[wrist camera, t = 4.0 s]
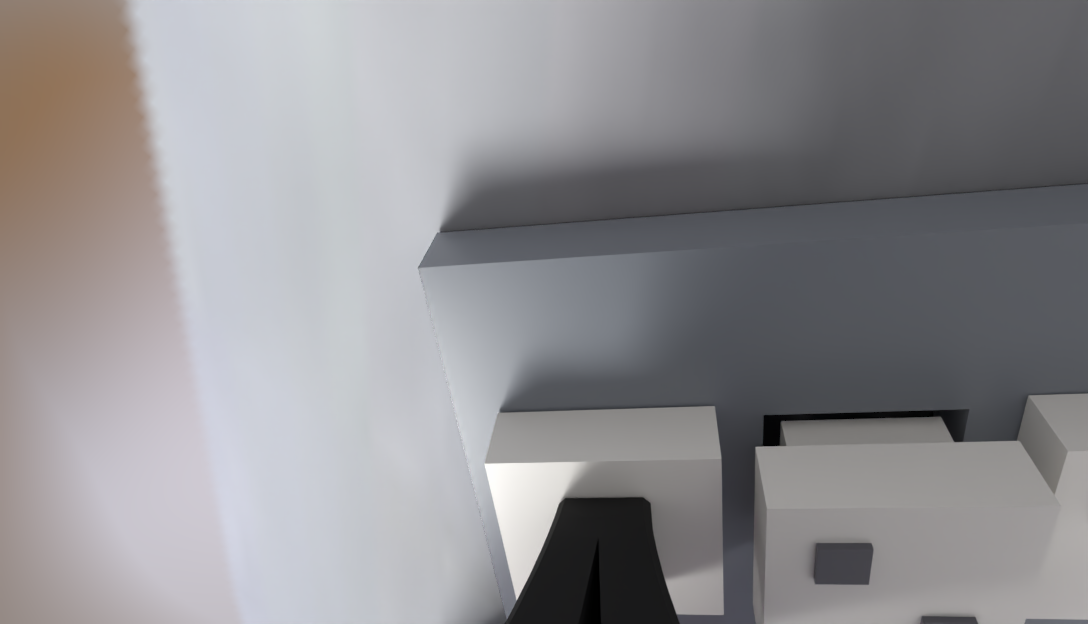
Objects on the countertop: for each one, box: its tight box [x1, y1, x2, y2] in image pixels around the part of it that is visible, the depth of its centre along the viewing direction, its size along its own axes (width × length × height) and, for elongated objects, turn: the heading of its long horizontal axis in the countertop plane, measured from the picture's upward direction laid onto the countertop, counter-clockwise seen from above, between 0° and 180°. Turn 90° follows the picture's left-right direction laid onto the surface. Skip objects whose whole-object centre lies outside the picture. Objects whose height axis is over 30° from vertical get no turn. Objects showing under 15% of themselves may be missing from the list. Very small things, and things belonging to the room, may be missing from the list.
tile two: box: [753, 417, 1061, 624], centre depth 11 cm, size 4×4×2 cm
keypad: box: [418, 184, 1088, 624], centre depth 13 cm, size 9×13×1 cm
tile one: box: [484, 406, 724, 615], centre depth 13 cm, size 4×4×2 cm
